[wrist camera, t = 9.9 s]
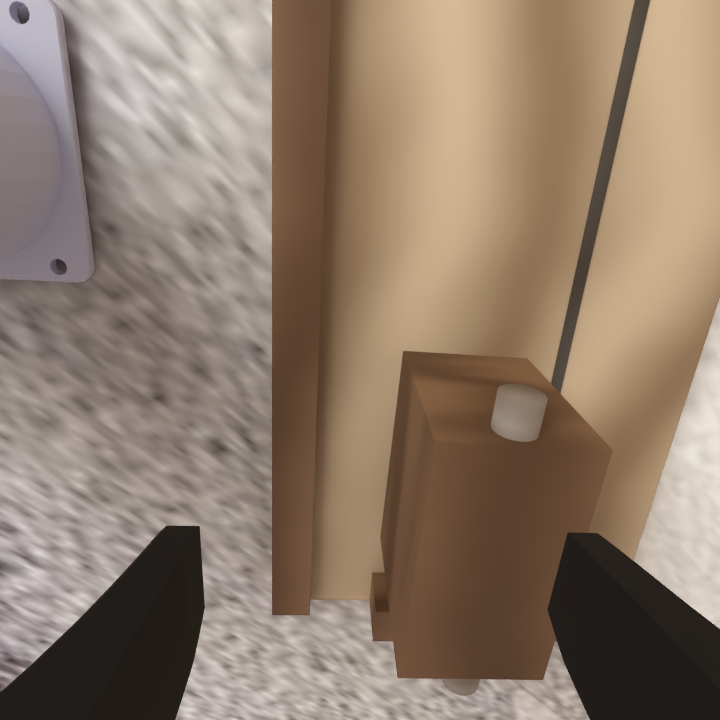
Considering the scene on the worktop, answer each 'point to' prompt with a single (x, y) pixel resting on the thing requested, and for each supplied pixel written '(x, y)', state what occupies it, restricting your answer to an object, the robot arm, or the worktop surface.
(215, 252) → the worktop surface
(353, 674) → the worktop surface
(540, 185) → the board
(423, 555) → the block with white pegs
